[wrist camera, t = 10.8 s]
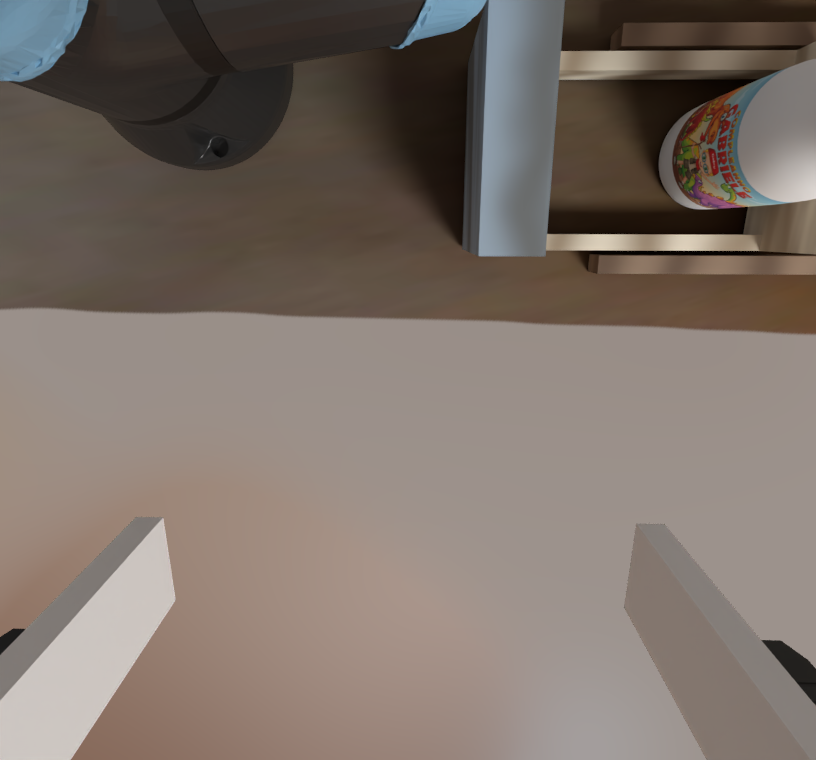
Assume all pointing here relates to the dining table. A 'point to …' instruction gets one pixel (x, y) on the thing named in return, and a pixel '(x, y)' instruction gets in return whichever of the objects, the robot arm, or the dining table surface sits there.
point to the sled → (535, 129)
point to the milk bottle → (746, 145)
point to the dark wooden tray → (705, 39)
